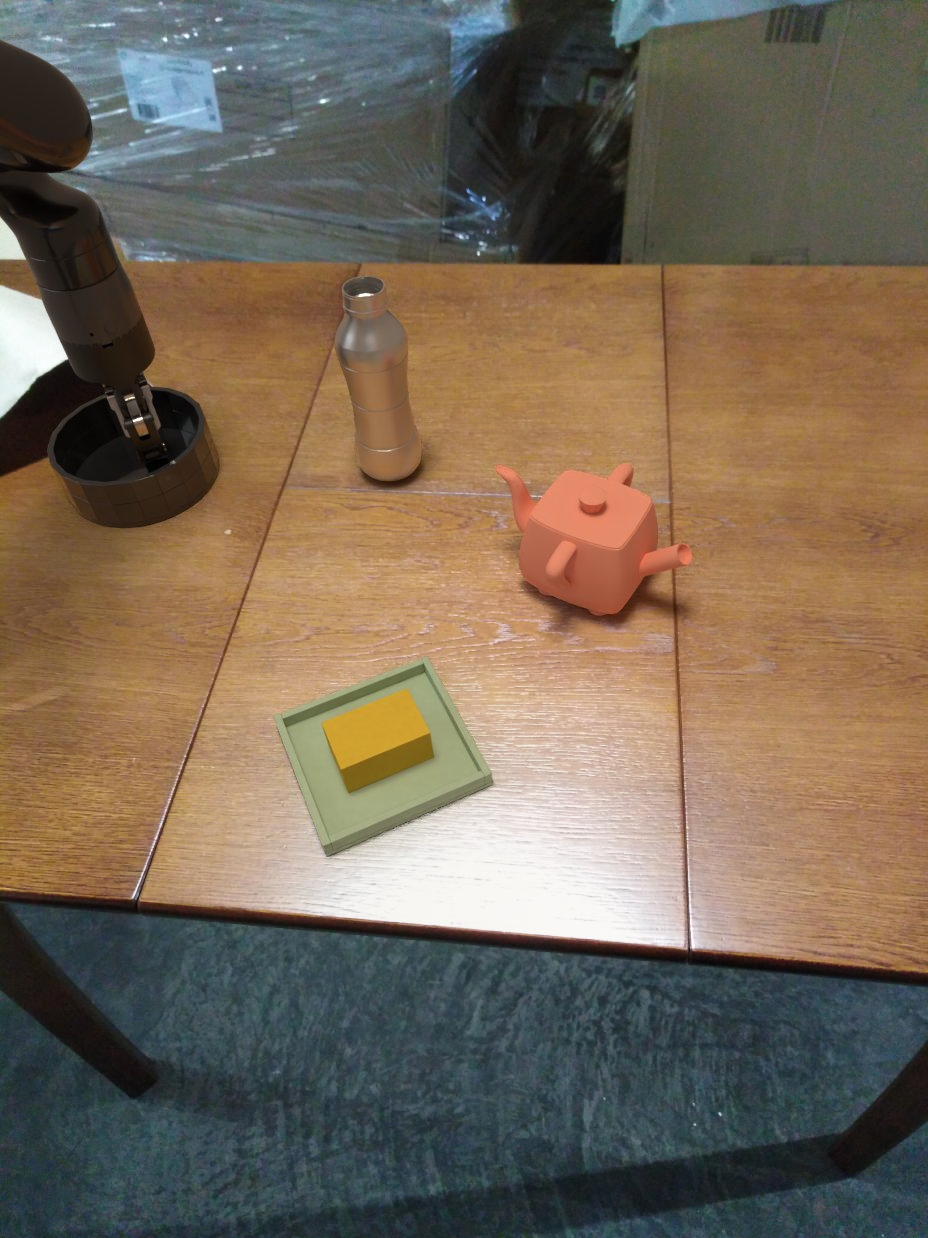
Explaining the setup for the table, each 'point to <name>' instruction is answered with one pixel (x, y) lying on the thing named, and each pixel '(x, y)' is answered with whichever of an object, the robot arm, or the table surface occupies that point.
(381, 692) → the tray
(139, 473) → the bowl
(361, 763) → the sponge
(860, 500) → the table surface
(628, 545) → the teapot
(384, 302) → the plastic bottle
